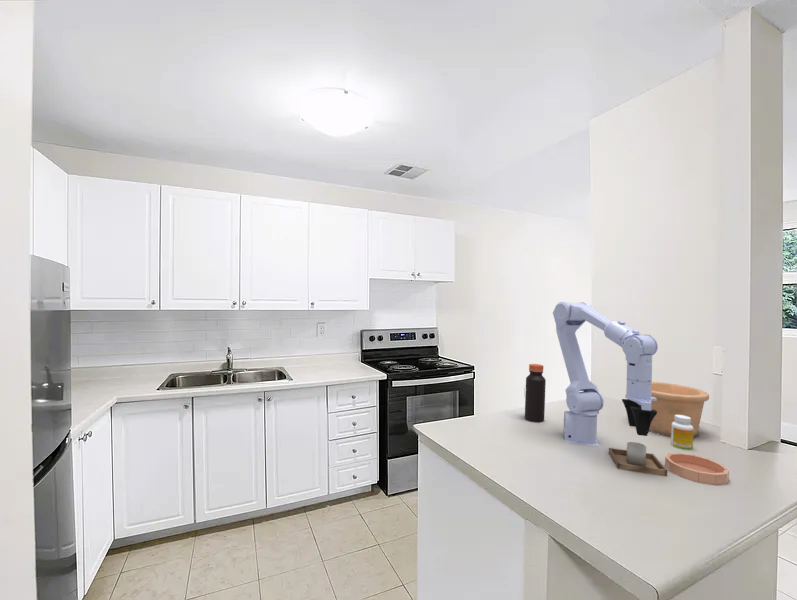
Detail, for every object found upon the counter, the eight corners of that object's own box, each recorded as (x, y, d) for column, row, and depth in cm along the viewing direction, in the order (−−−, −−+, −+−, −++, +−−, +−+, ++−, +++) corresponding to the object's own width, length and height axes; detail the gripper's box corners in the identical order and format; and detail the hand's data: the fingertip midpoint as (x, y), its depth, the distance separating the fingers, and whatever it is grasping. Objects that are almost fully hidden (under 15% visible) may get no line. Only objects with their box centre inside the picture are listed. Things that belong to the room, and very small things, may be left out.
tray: (617, 470, 99) (617, 463, 99) (608, 454, 110) (608, 447, 110) (666, 478, 96) (667, 470, 96) (652, 461, 106) (653, 453, 106)
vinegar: (546, 418, 141) (547, 364, 141) (542, 423, 136) (544, 367, 135) (527, 415, 145) (529, 362, 145) (522, 420, 139) (524, 365, 139)
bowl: (676, 481, 95) (676, 469, 95) (659, 460, 107) (659, 450, 107) (738, 490, 91) (739, 478, 91) (713, 468, 103) (714, 457, 103)
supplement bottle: (696, 452, 113) (697, 420, 113) (676, 450, 115) (677, 418, 114) (686, 446, 119) (687, 414, 119) (667, 444, 120) (668, 413, 120)
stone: (628, 465, 102) (629, 446, 101) (624, 459, 106) (625, 441, 106) (647, 468, 100) (648, 449, 100) (642, 461, 104) (643, 443, 104)
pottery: (635, 415, 149) (636, 378, 149) (707, 429, 135) (709, 388, 135) (625, 429, 133) (627, 388, 132) (707, 446, 119) (708, 400, 119)
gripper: (665, 386, 95) (664, 441, 95) (647, 376, 109) (646, 424, 109) (633, 384, 97) (632, 437, 97) (619, 374, 111) (618, 421, 111)
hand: (637, 430), depth 103 cm, fingers open, 7 cm apart
